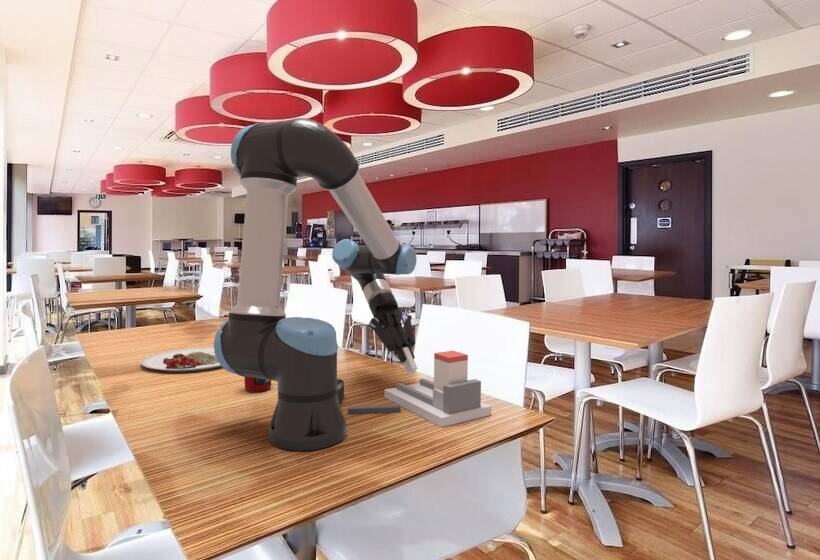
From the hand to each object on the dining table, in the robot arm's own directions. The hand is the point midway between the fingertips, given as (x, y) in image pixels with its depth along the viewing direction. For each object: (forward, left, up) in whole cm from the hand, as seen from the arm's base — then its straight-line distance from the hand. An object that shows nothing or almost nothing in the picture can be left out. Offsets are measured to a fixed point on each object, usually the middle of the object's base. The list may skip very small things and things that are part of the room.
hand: (412, 371), depth 128 cm
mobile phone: (-15, +15, -7) cm, 22 cm away
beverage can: (-11, +40, -6) cm, 42 cm away
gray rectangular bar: (-15, +4, -7) cm, 17 cm away
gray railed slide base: (-6, -8, -6) cm, 11 cm away
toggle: (-9, -13, -4) cm, 16 cm away
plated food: (+5, +78, -7) cm, 78 cm away
